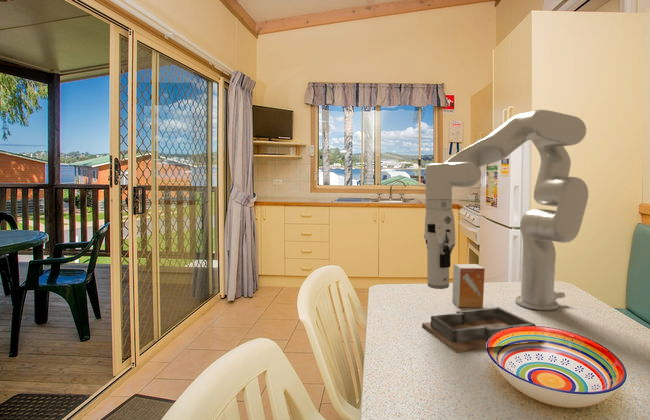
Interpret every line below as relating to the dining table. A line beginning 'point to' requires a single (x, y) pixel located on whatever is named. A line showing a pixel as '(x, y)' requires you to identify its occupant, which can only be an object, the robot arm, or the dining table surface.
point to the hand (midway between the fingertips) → (438, 264)
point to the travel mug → (435, 262)
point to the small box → (468, 285)
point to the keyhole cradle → (472, 327)
